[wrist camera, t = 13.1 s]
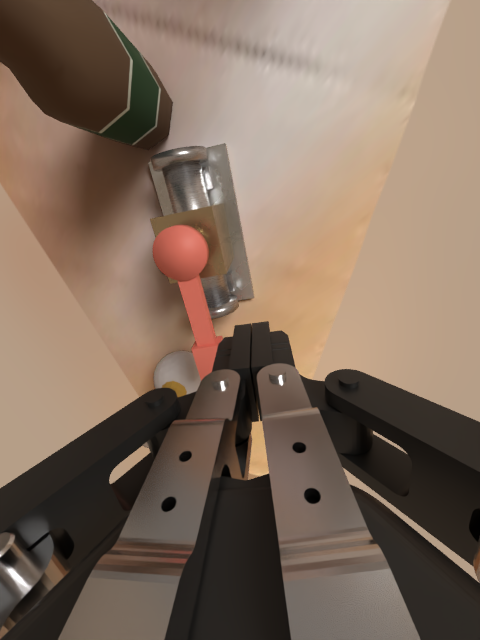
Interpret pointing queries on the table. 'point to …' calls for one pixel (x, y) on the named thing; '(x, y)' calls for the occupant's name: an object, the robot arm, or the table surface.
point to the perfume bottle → (177, 374)
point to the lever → (189, 286)
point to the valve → (205, 218)
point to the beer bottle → (83, 70)
